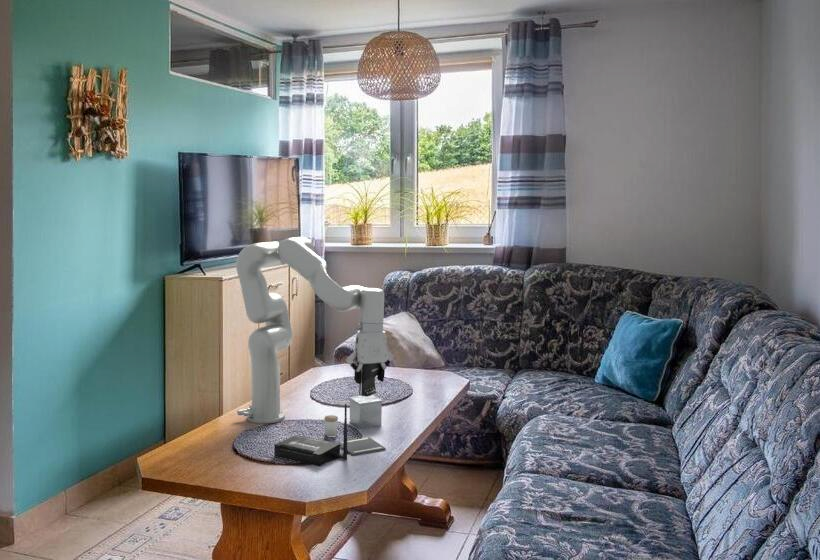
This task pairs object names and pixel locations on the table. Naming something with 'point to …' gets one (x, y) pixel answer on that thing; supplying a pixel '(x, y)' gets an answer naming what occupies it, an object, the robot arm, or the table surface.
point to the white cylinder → (331, 425)
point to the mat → (362, 446)
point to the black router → (311, 448)
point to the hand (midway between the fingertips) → (369, 381)
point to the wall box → (365, 411)
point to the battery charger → (368, 379)
